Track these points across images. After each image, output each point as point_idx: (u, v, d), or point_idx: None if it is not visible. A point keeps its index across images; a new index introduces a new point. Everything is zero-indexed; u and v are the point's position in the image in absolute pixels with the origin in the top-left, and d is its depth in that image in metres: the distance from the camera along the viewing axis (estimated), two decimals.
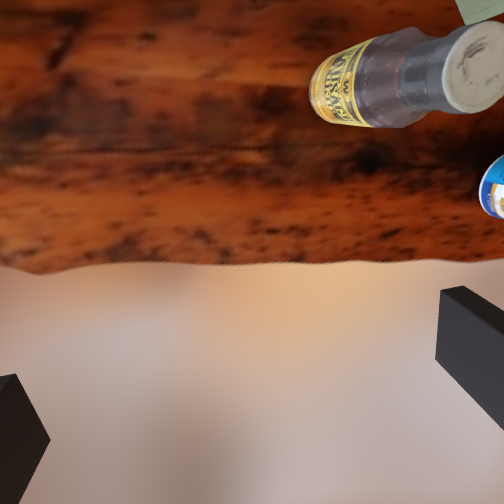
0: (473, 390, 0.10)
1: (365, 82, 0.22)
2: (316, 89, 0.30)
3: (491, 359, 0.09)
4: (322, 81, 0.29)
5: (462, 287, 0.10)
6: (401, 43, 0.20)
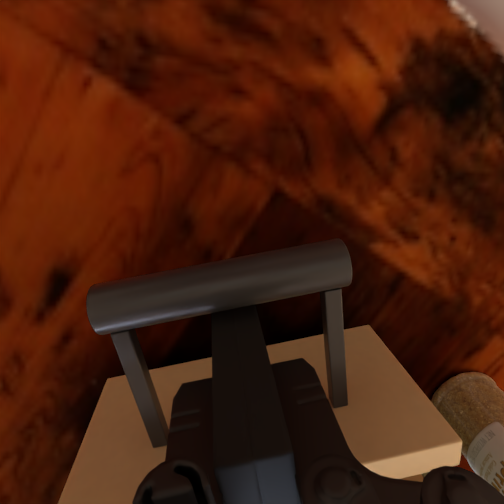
0: None
1: None
2: None
3: None
4: None
5: None
6: None
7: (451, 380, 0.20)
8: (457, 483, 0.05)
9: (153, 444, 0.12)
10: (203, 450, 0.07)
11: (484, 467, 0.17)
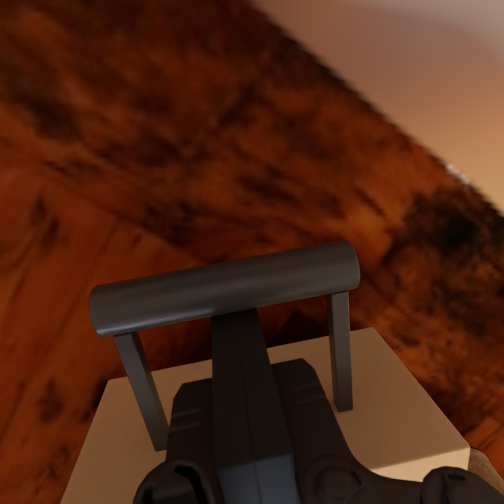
0: None
1: None
2: None
3: None
4: None
5: None
6: None
7: None
8: (457, 483, 0.05)
9: (155, 447, 0.12)
10: (203, 450, 0.07)
11: None
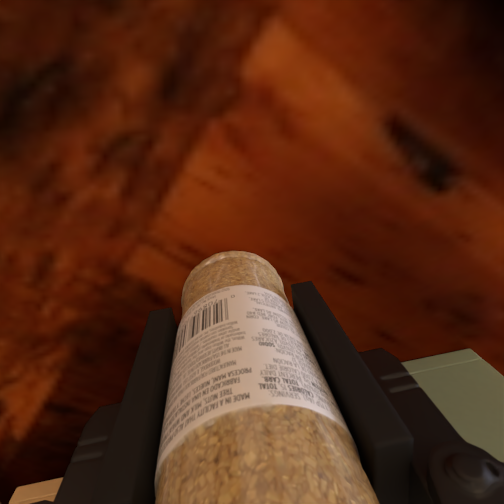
0: None
1: None
2: None
3: (309, 341, 0.10)
4: None
5: (310, 282, 0.12)
6: None
7: None
8: None
9: None
10: None
11: None
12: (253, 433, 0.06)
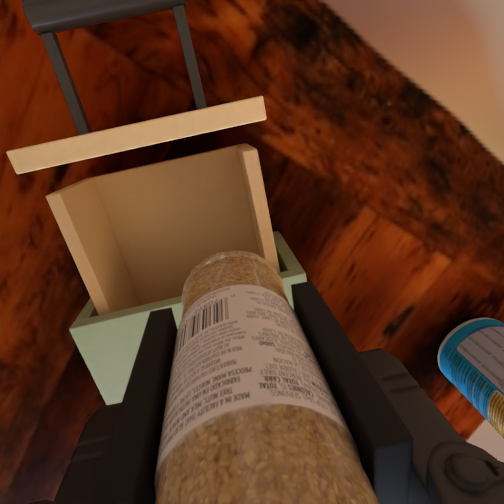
0: None
1: None
2: None
3: (309, 341, 0.10)
4: None
5: (310, 282, 0.12)
6: None
7: None
8: None
9: (79, 132, 0.19)
10: None
11: None
12: (253, 432, 0.06)
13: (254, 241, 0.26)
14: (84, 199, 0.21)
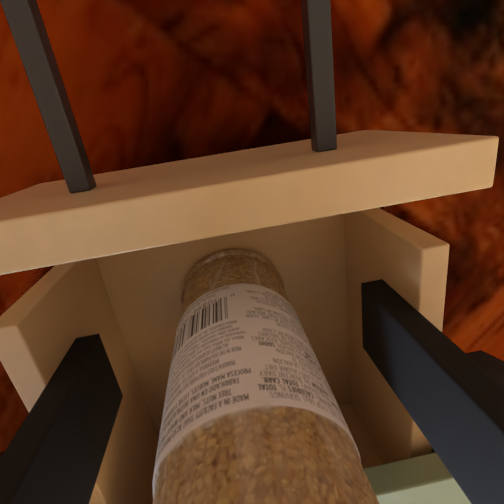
0: (385, 372, 0.11)
1: None
2: None
3: (392, 343, 0.10)
4: None
5: (381, 281, 0.11)
6: None
7: None
8: None
9: (70, 184, 0.09)
10: None
11: None
12: (252, 435, 0.06)
13: (346, 346, 0.17)
14: (74, 301, 0.11)
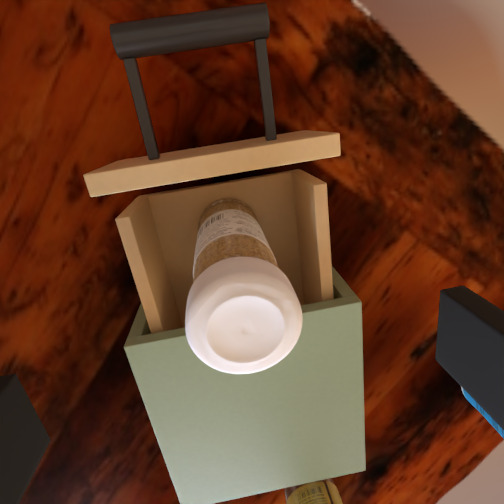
0: (473, 390, 0.10)
1: None
2: None
3: (491, 359, 0.09)
4: None
5: (462, 287, 0.10)
6: None
7: None
8: None
9: (149, 155, 0.19)
10: None
11: None
12: (231, 238, 0.16)
13: (299, 265, 0.27)
14: (143, 219, 0.21)
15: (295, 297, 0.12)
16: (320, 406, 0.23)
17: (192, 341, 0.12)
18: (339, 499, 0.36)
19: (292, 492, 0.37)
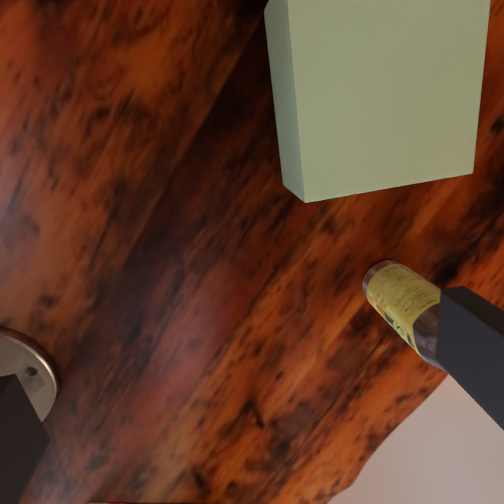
0: (473, 389, 0.10)
1: None
2: None
3: (491, 359, 0.09)
4: None
5: (462, 287, 0.10)
6: None
7: None
8: None
9: None
10: None
11: None
12: None
13: None
14: None
15: None
16: (444, 76, 0.25)
17: None
18: None
19: (373, 275, 0.39)
